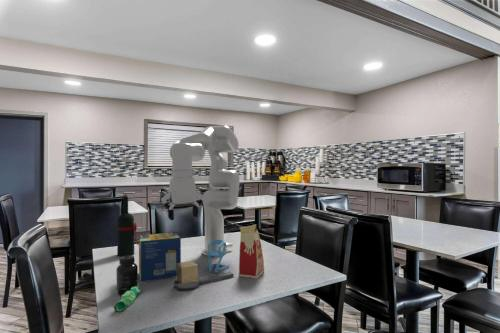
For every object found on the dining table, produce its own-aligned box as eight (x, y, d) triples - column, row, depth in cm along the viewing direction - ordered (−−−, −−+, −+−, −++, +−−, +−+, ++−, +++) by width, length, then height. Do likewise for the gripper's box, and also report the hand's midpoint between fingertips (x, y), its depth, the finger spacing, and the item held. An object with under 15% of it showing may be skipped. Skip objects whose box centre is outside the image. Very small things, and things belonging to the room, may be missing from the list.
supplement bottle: (120, 288, 107) (120, 254, 107) (140, 287, 107) (140, 253, 107) (113, 296, 100) (113, 260, 100) (134, 295, 100) (134, 259, 100)
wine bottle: (136, 256, 145) (135, 194, 145) (114, 257, 144) (114, 194, 144) (141, 252, 152) (141, 193, 153) (121, 252, 152) (120, 193, 152)
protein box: (138, 273, 122) (138, 235, 122) (176, 268, 128) (176, 231, 128) (140, 282, 112) (139, 241, 112) (181, 276, 118) (181, 237, 118)
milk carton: (264, 270, 123) (263, 222, 124) (257, 278, 115) (257, 226, 115) (243, 268, 126) (243, 221, 126) (235, 276, 118) (235, 225, 118)
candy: (128, 309, 89) (120, 298, 89) (118, 316, 89) (111, 304, 89) (143, 293, 101) (136, 282, 101) (134, 298, 101) (128, 288, 101)
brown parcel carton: (191, 276, 112) (191, 260, 112) (197, 281, 107) (197, 265, 107) (176, 280, 109) (176, 263, 109) (181, 285, 104) (181, 268, 104)
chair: (204, 271, 123) (203, 242, 123) (213, 265, 131) (213, 237, 131) (220, 273, 121) (220, 243, 121) (229, 267, 128) (229, 239, 128)
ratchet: (226, 272, 122) (226, 256, 122) (237, 279, 114) (237, 262, 114) (170, 284, 110) (170, 267, 110) (179, 293, 102) (179, 274, 102)
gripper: (198, 173, 125) (199, 214, 125) (157, 175, 115) (158, 219, 116) (206, 173, 118) (207, 216, 119) (163, 176, 109) (164, 222, 109)
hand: (183, 218), depth 117 cm, fingers open, 9 cm apart
